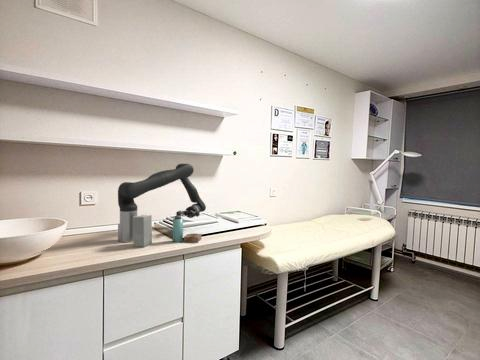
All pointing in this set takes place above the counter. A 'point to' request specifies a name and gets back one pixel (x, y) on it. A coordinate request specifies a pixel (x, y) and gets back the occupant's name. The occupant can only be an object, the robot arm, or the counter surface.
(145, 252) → the counter surface
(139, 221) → the skincare box
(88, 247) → the counter surface
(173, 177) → the robot arm
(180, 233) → the teal bottle
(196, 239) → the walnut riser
